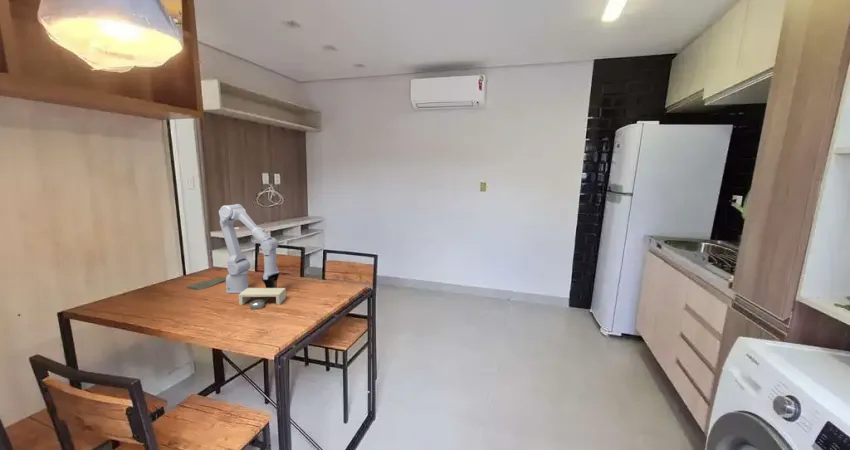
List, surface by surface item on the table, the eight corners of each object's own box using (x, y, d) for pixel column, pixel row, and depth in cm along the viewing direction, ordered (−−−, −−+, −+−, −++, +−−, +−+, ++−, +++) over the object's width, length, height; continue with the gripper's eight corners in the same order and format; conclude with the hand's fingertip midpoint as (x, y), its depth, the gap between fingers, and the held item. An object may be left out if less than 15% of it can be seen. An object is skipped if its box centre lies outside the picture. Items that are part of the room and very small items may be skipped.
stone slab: (185, 291, 179) (199, 291, 176) (184, 286, 179) (198, 285, 176) (222, 279, 200) (235, 279, 197) (221, 274, 200) (235, 274, 197)
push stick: (256, 304, 160) (255, 291, 159) (270, 291, 177) (269, 280, 176) (264, 304, 160) (263, 291, 159) (277, 291, 177) (276, 280, 176)
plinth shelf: (239, 305, 158) (238, 294, 158) (247, 297, 167) (247, 288, 167) (279, 304, 160) (279, 294, 159) (285, 297, 169) (285, 287, 168)
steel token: (247, 309, 154) (247, 304, 153) (253, 304, 160) (253, 299, 159) (261, 309, 154) (261, 304, 154) (266, 304, 160) (266, 299, 160)
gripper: (273, 266, 165) (274, 294, 167) (283, 259, 179) (284, 284, 181) (258, 266, 165) (259, 294, 167) (269, 259, 179) (270, 284, 181)
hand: (271, 289), depth 174 cm, fingers open, 5 cm apart
